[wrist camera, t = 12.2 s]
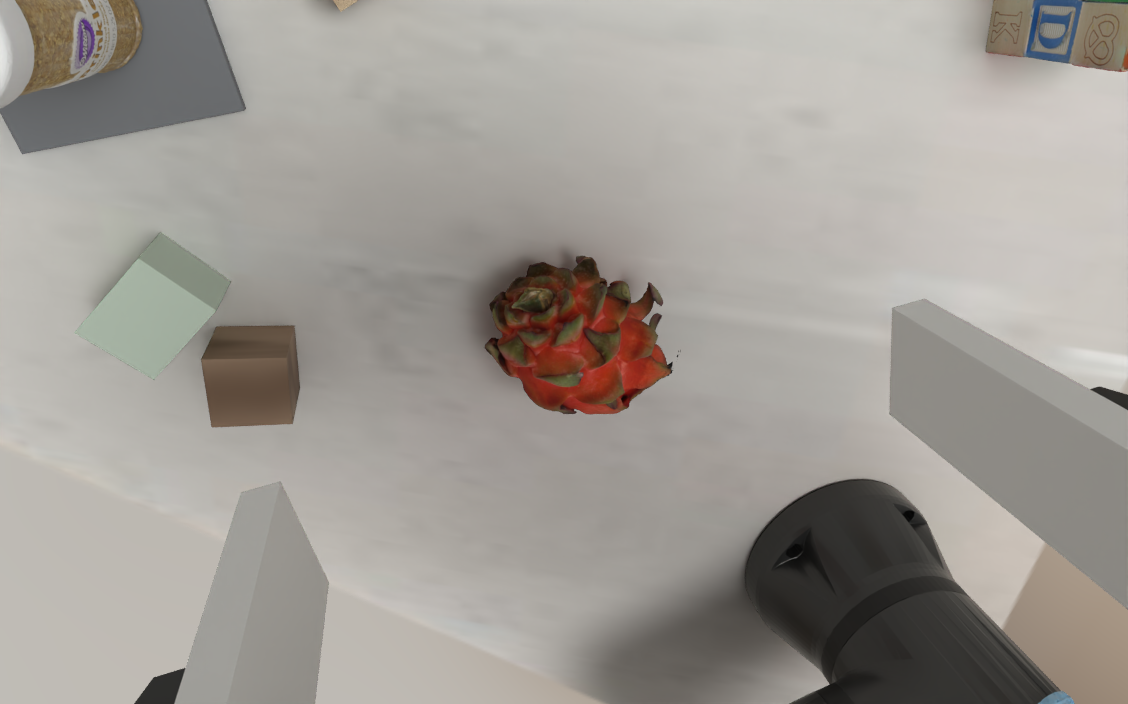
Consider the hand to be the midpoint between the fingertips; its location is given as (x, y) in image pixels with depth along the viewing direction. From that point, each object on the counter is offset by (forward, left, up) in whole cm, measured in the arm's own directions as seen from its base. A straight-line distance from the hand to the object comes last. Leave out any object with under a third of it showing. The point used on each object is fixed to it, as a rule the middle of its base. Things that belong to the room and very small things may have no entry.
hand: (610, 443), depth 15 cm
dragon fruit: (-10, -4, -27) cm, 29 cm away
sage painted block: (-3, +17, -27) cm, 32 cm away
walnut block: (-8, +14, -27) cm, 31 cm away
